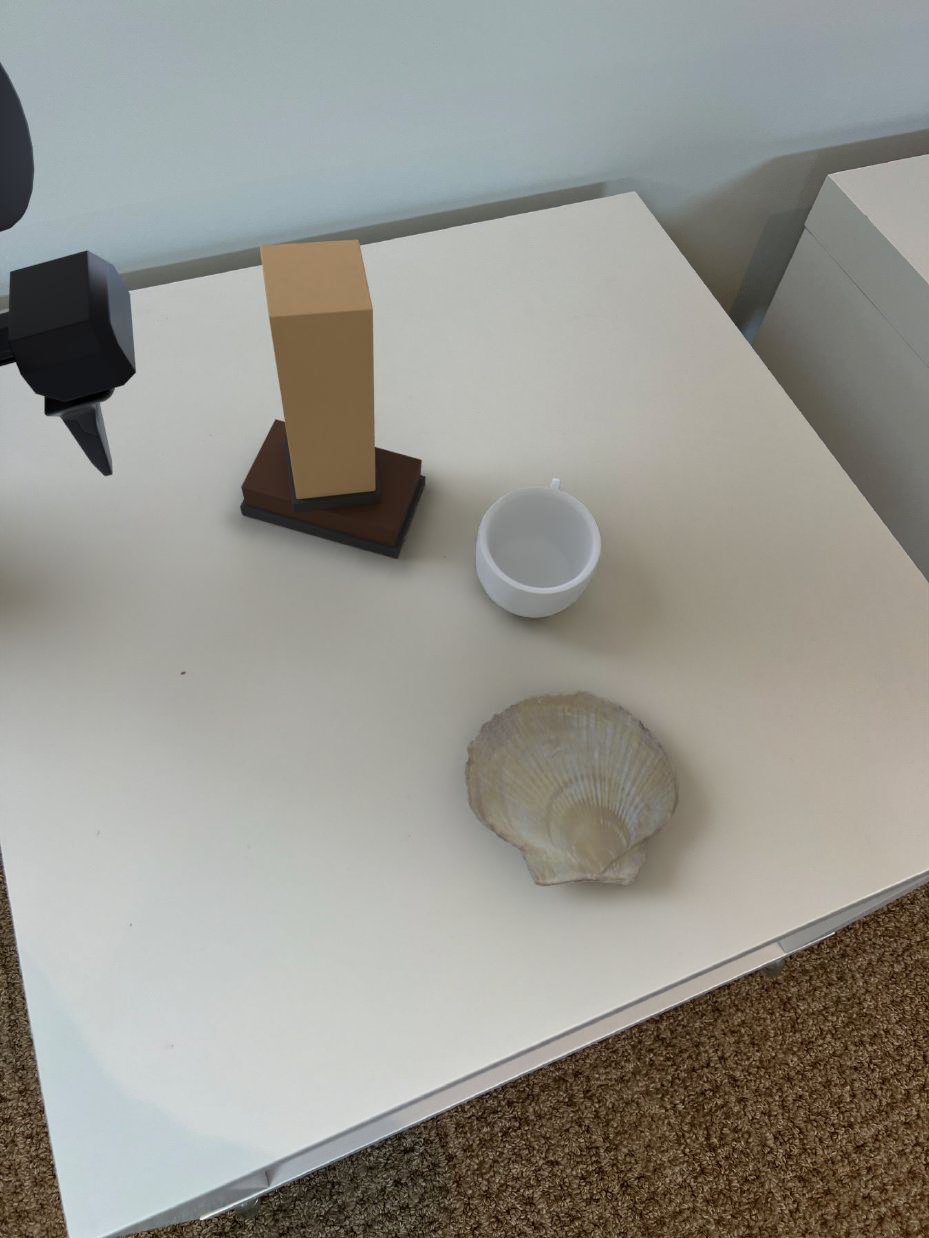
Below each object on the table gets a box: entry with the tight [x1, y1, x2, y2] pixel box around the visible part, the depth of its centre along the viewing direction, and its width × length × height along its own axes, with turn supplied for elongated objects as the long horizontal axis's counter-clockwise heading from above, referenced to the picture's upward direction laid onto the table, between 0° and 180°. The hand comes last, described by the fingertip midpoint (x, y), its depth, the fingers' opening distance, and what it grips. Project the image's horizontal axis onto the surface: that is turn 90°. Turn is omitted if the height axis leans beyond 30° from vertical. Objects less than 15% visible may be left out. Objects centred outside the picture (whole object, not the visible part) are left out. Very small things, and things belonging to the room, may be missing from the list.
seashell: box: [463, 691, 680, 887], centre depth 50 cm, size 12×12×3 cm
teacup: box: [475, 477, 602, 619], centre depth 56 cm, size 10×8×5 cm
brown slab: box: [239, 418, 427, 560], centre depth 58 cm, size 11×6×3 cm, turn 74°
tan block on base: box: [259, 239, 381, 513], centre depth 50 cm, size 6×6×16 cm
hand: (20, 494), depth 43 cm, fingers open, 9 cm apart
